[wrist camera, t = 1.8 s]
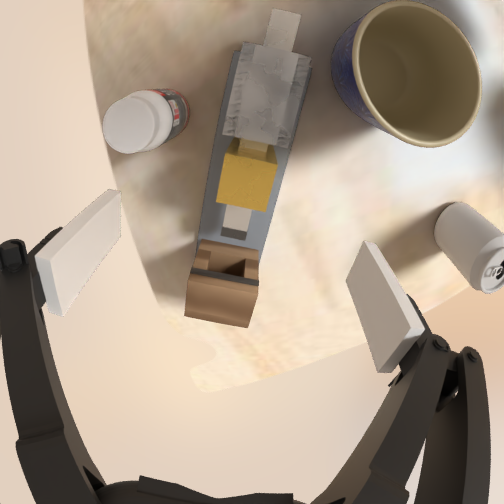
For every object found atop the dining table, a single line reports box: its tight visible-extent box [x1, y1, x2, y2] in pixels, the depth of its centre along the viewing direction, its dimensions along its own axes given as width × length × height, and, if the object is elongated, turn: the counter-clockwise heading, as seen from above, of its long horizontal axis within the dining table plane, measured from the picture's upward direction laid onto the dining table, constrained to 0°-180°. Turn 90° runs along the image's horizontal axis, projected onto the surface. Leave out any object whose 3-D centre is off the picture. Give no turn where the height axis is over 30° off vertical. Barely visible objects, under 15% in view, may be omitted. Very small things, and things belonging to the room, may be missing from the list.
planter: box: [331, 0, 482, 148], centre depth 20 cm, size 12×12×11 cm
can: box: [434, 202, 504, 294], centre depth 29 cm, size 8×8×12 cm
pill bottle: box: [102, 89, 190, 154], centre depth 24 cm, size 6×6×10 cm
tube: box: [216, 8, 301, 241], centre depth 23 cm, size 22×4×8 cm, turn 168°
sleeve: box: [222, 42, 312, 149], centre depth 24 cm, size 8×5×8 cm
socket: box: [184, 239, 259, 328], centre depth 34 cm, size 5×7×9 cm
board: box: [195, 51, 312, 262], centre depth 32 cm, size 27×8×1 cm, turn 168°
